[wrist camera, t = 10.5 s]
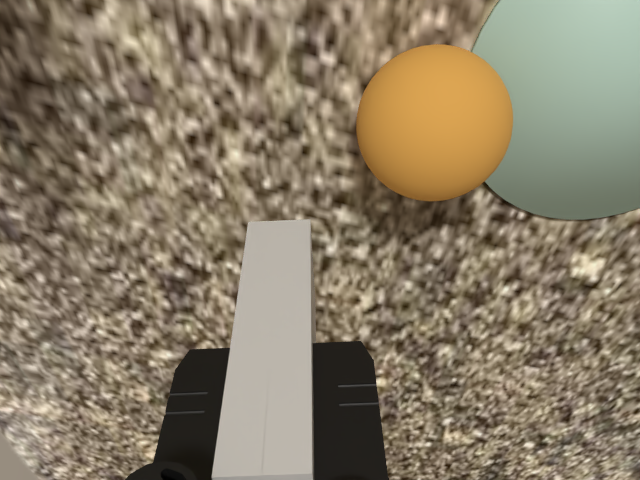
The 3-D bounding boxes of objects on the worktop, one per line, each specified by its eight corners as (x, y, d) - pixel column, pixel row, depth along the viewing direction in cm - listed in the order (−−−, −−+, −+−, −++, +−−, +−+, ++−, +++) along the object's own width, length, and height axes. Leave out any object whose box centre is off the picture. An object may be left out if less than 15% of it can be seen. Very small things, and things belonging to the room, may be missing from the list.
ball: (320, 101, 22) (438, 76, 24) (363, 231, 22) (482, 197, 23) (365, 26, 17) (512, 0, 19) (423, 195, 17) (570, 154, 18)
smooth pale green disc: (848, 71, 23) (852, 73, 22) (569, 261, 28) (571, 263, 28) (708, -209, 17) (712, -210, 17) (393, 96, 22) (394, 98, 22)
